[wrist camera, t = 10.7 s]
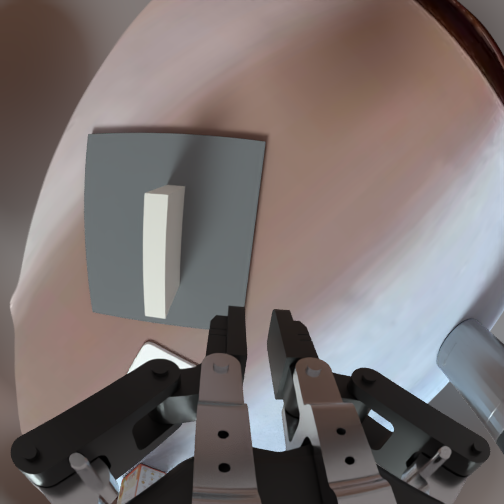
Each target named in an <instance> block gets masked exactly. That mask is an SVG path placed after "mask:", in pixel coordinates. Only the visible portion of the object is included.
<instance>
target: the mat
mask: <svg viewBox="0 0 504 504" xmlns="http://www.w3.org/2000/svg"><path fill="white" fill-rule="evenodd" d="M265 143H266V142H264V141H256V140H248V139H239V138H229V137H219V136H206V135H191V134H171V133H105V134H88V141H87V152H86V167H85V191H84V220H85V245H86V260H87V271H88V281H89V289H90V297H91V304H92V310H93V312H95V313H100V314H106V315H111V316H116V317H122V318H128V319H134V320H140V321H147V322H153V323H160V324H167V325H175V326H183V327H191V328H200V329H210V321H211V320H212V319H213V318H214V317H215V316H216V315H222V316H227V315H228V306H241V307H244V305H245V297H246V289H247V282H248V274H249V266H250V258H251V251H252V243H253V235H254V227H255V220H256V212H257V204H258V197H259V189H260V181H261V173H262V166H263V158H264V150H265ZM165 185H176V186H185V194H184V206H183V221H182V237H181V258H180V285H179V287H178V290H177V292H176V295H175V297H174V299H173V302H172V304H171V306H170V309H169V311H168V314H167V316H166V319H163V318H156V317H149V316H145V306H144V284H143V218H144V195H145V193H146V192H149V191H152V190H154V189H157V188H160V187H162V186H165Z"/></svg>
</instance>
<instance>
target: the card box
mask: <svg viewBox="0 0 504 504" xmlns="http://www.w3.org/2000/svg"><path fill="white" fill-rule="evenodd" d="M184 194H185V186H176V185H165V186H162V187H160V188H157V189H154V190H152V191H149V192H146V193H145V195H144V218H143V284H144V306H145V316H149V317H156V318H163V319H166V316H167V314H168V311H169V309H170V306H171V304H172V302H173V299H174V297H175V295H176V292H177V290H178V287H179V285H180V258H181V237H182V221H183V206H184Z"/></svg>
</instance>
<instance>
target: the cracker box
mask: <svg viewBox="0 0 504 504" xmlns="http://www.w3.org/2000/svg"><path fill="white" fill-rule="evenodd" d="M165 474H166V473H164V472H161V471H159V470H156V469H153V468H150V467H148V466H145V465H143V464H139V465H138V466H137V467H136V468H135V469H134V470H133V471H131V472H130V473H129V474H128V475H127V476H126V477H125V478H123V479H122V483H121V487H120V492H119V496H118V502H117V504H125V503H126V502H128V501H129V500H131V499H132V498H134V497H135V496H137V495H138V494H140V493H141V492H142V491H144V490H145V489H147V488H148V487H149V486H151V485H152V484H153V483H155V482H156V481H157V480H159V479H160V478H161V477H163V476H164V475H165Z"/></svg>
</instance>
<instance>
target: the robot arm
mask: <svg viewBox="0 0 504 504" xmlns="http://www.w3.org/2000/svg"><path fill="white" fill-rule="evenodd" d="M267 351H268V357H269V363H270V369H271V376H272V382H273V388H274V394H275V399H283V401H284V406H283V409H282V420H283V428H284V436H285V444H286V451H283V452H274V451H269V450H264V449H259V448H254V447H252V441H251V432H250V423H249V414H248V406H247V404H244V397H243V380H244V374H245V367H246V361H247V342H246V326H245V308H244V307H241V306H228V315H227V316H222V315H216V316H215V317H214V318H213V319H212V320H211V321H210V329H209V335H208V343H207V350H206V357H205V358H204V359H203V361H202V363H201V364H199V365H197V366H195V367H192V368H185V369H180V368H179V367H178V365H177V364H176V363H174V362H172V361H170V360H167V359H152V360H149V361H147V362H146V363H144V364H142V365H141V366H139V367H138V368H136V369H134V370H133V371H131V372H130V373H128V374H126V375H125V376H123V377H122V378H120V379H118V380H117V381H115V382H113V383H112V384H110V385H109V386H107V387H105V388H104V389H102V390H100V391H99V392H97V393H95V394H94V395H92V396H90V397H89V398H87V399H85V400H84V401H82V402H80V403H79V404H77V405H75V406H73V407H72V408H70V409H68V410H67V411H65V412H63V413H61V414H60V415H58V416H56V417H54V418H53V419H51V420H49V421H47V422H45V423H44V424H42V425H40V426H38V427H37V428H35V429H33V430H31V431H29V432H27V433H26V434H24V435H22V436H20V437H19V438H17V439H16V440H15V441H14V443H13V445H12V447H11V457H12V460H13V462H14V464H15V465H16V467H18V469H19V470H20V471H21V472H22V473H23V474H24V475H25V476H26V477H27V478H28V480H29V481H30V482H32V484H33V485H34V486H36V487H37V488H38V489H39V490H40V491H41V492H42V493H43V494H45V496H46V497H47V499H48V500H49V501H50V502H51V504H111V503H112V502H113V501H114V500H115V499H116V497H117V496H118V492H119V487H118V483H117V481H116V479H118V478H119V477H120V476H121V475H123V474H124V473H125V472H127V471H128V470H129V469H130V468H132V467H133V466H134V465H136V464H137V463H138V462H139V461H140V460H142V459H143V458H144V457H145V456H147V455H148V454H149V453H150V452H151V451H153V450H154V449H155V448H156V447H157V446H159V445H160V444H161V443H162V442H163V441H164V440H166V439H167V438H168V437H169V436H170V435H171V434H173V433H174V432H175V431H176V430H177V429H178V428H179V427H180V426H181V425H182V423H185V422H193V421H196V434H195V451H194V457H191V458H189V459H187V460H185V461H183V462H181V463H180V464H178V465H177V466H176V467H174V468H173V469H172V470H171V471H169V472H168V473H167V474H165V475H164V476H163V477H161V478H160V479H159V480H157V481H156V482H155V483H153V484H152V485H151V486H149V487H148V488H147V489H145V490H144V491H142V492H141V493H140V494H138V495H137V496H135V497H134V498H132V499H131V500H129V501H128V502H126V503H125V504H453V503H454V501H455V499H456V498H457V496H458V494H459V492H460V490H461V489H462V486H463V485H464V483H465V481H466V479H467V477H469V476H470V475H471V474H472V473H473V472H474V471H475V470H476V469H478V468H479V467H480V466H481V465H482V464H483V463H484V462H485V461H486V460H487V459H488V457H489V455H490V447H489V444H488V443H487V441H486V440H485V439H484V438H482V437H481V436H479V435H478V434H476V433H474V432H473V431H471V430H469V429H468V428H466V427H464V426H463V425H461V424H459V423H457V422H456V421H454V420H453V419H451V418H449V417H448V416H446V415H444V414H443V413H441V412H440V411H438V410H436V409H435V408H433V407H431V406H430V405H428V404H427V403H425V402H424V401H422V400H420V399H419V398H417V397H416V396H414V395H413V394H411V393H409V392H408V391H406V390H405V389H403V388H402V387H400V386H399V385H397V384H395V383H394V382H392V381H391V380H389V379H388V378H386V377H385V376H383V375H382V374H380V373H379V372H377V371H375V370H373V369H369V368H359V369H356V370H355V371H354V372H353V373H352V376H346V375H340V374H336V373H333V372H332V370H331V368H330V366H329V365H328V364H327V363H326V362H324V361H323V360H320V359H319V358H318V355H317V353H316V350H315V348H314V345H313V342H312V341H311V337H310V336H309V332H308V330H307V327H306V326H305V325H303V324H302V323H301V322H300V321H293V318H292V315H291V312H290V310H279V309H274V310H273V312H272V317H271V322H270V328H269V333H268V339H267ZM437 364H438V366H439V368H440V369H441V370H442V371H443V373H444V374H445V375H446V376H447V378H448V379H449V380H450V381H451V383H452V384H453V385H454V387H455V388H456V389H457V390H458V392H459V393H460V394H461V396H462V397H463V398H464V400H465V401H466V402H467V403H468V405H469V406H470V407H471V409H472V410H473V411H474V413H475V414H476V416H477V417H478V418H479V420H480V421H481V422H482V424H483V425H484V427H485V428H486V429H487V430H488V432H489V433H490V435H491V436H492V438H493V439H494V441H495V442H496V444H497V445H498V446H499V448H500V449H501V451H502V452H503V454H504V344H503V343H502V342H501V341H500V340H499V339H498V338H497V337H495V336H494V335H493V334H492V333H491V332H490V331H489V330H488V329H486V328H485V327H484V326H483V325H482V324H481V323H479V322H478V321H477V320H475V319H469V320H466V321H464V322H462V323H461V324H460V325H458V326H457V327H456V328H455V329H454V330H453V331H452V332H451V333H450V334H449V336H448V337H447V338H446V340H445V341H444V343H443V345H442V346H441V348H440V351H439V353H438V357H437ZM371 409H372V410H373V411H375V412H376V413H377V414H379V415H380V416H382V417H383V418H385V419H386V420H387V421H389V422H390V423H391V424H392V425H393V427H394V432H391V431H389V430H388V429H386V428H385V427H383V426H382V425H381V424H379V423H378V422H376V421H375V420H374V419H372V418H371V417H369V416H368V413H369V412H370V410H371ZM375 462H376V463H377V464H379V465H380V466H381V467H380V466H379V465H377V464H376V463H375ZM382 467H383V468H384V469H383V468H382ZM385 469H386V470H385Z"/></svg>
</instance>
